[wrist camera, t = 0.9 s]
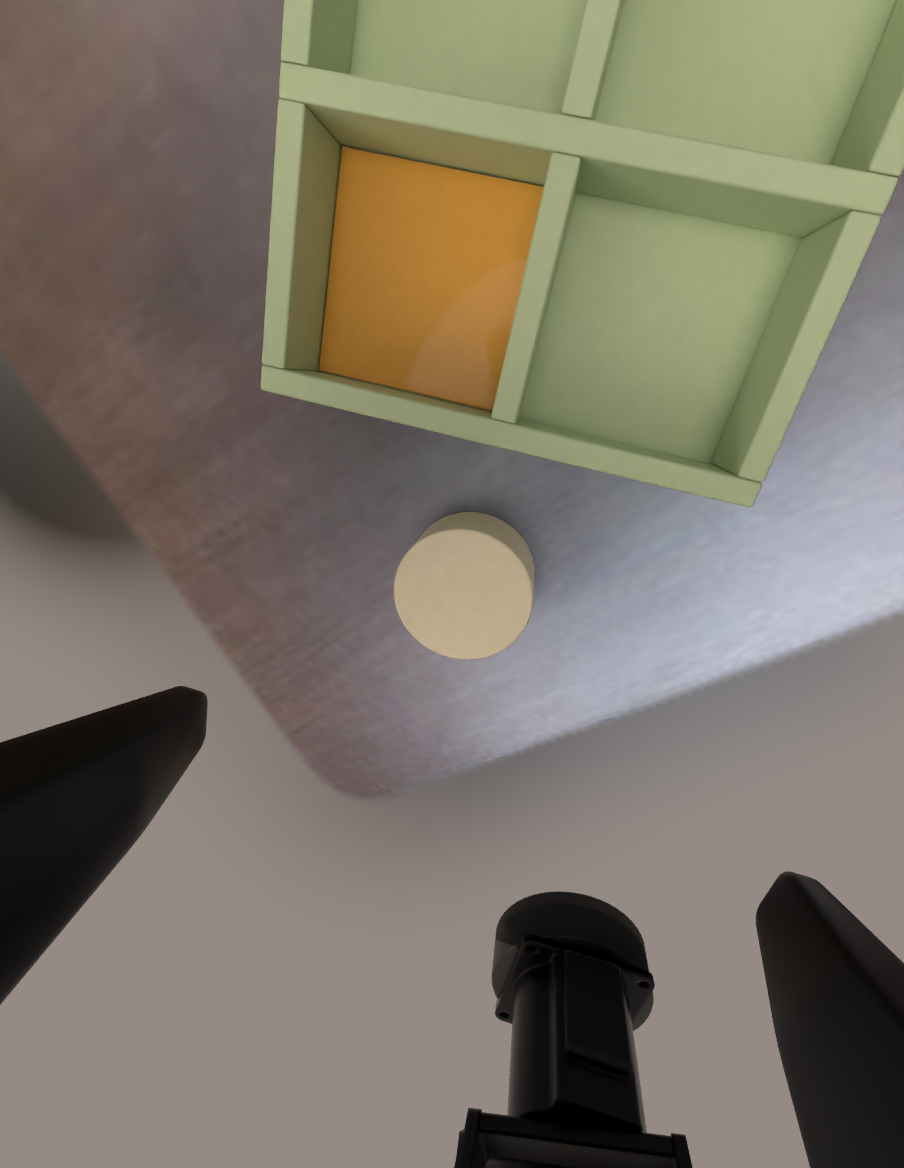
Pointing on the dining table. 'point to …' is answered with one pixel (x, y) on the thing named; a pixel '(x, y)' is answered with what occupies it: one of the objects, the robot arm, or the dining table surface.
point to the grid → (578, 219)
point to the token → (466, 586)
